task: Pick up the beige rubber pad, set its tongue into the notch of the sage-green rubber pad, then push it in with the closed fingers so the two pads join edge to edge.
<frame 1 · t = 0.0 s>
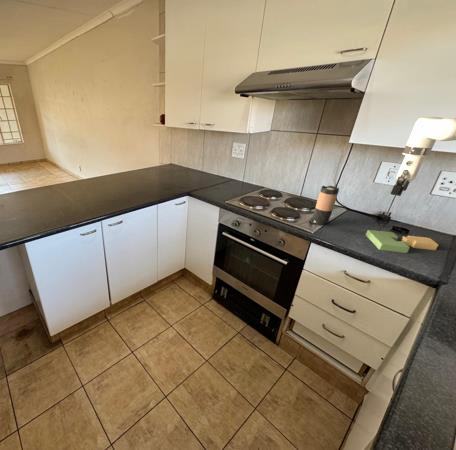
hand: (398, 192, 105), 24 cm above the countertop, tool pointing down, fingers open, 9 cm apart
green pad: (385, 243, 114), on the countertop
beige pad: (419, 245, 112), on the countertop
travel mug: (319, 223, 134), on the countertop
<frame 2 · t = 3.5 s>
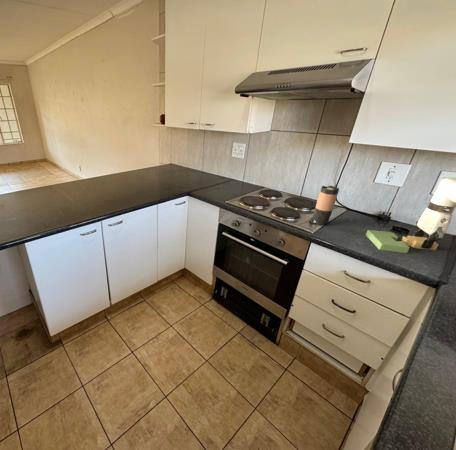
hand: (420, 243, 111), 1 cm above the countertop, tool pointing down, fingers closed on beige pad, 6 cm apart
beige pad: (419, 245, 112), on the countertop, touching gripper
everything else where it was.
when the fingers open (1 cm above the countertop, at t = 8.7 s): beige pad stays where it is, on the countertop.
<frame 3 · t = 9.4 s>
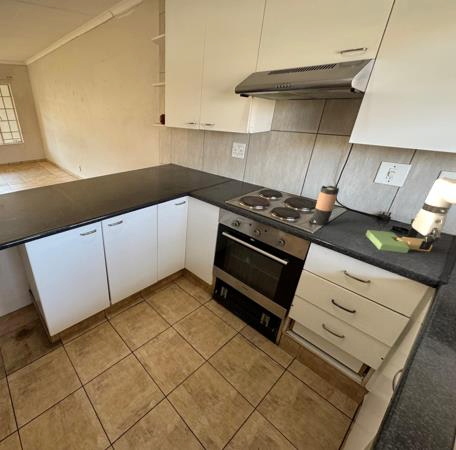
hand: (416, 243, 110), 2 cm above the countertop, tool pointing down, fingers open, 9 cm apart
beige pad: (414, 246, 111), on the countertop
everything else where it was.
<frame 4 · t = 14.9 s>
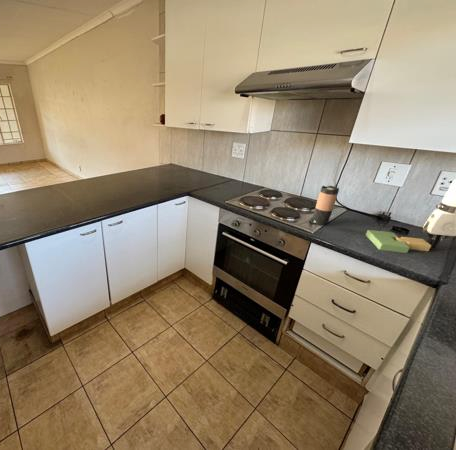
hand: (430, 246, 109), 1 cm above the countertop, tool pointing down, fingers closed
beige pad: (412, 246, 111), on the countertop, touching gripper
everything else where it was.
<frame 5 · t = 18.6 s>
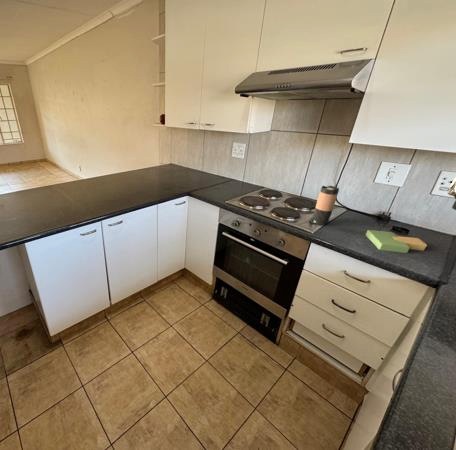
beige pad: (408, 246, 112), on the countertop, touching green pad
everything else where it was.
at the end: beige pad 0.4 cm from the target spot on the countertop beside the green pad, on the countertop; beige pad tilted 0°; the gripper is holding nothing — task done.
